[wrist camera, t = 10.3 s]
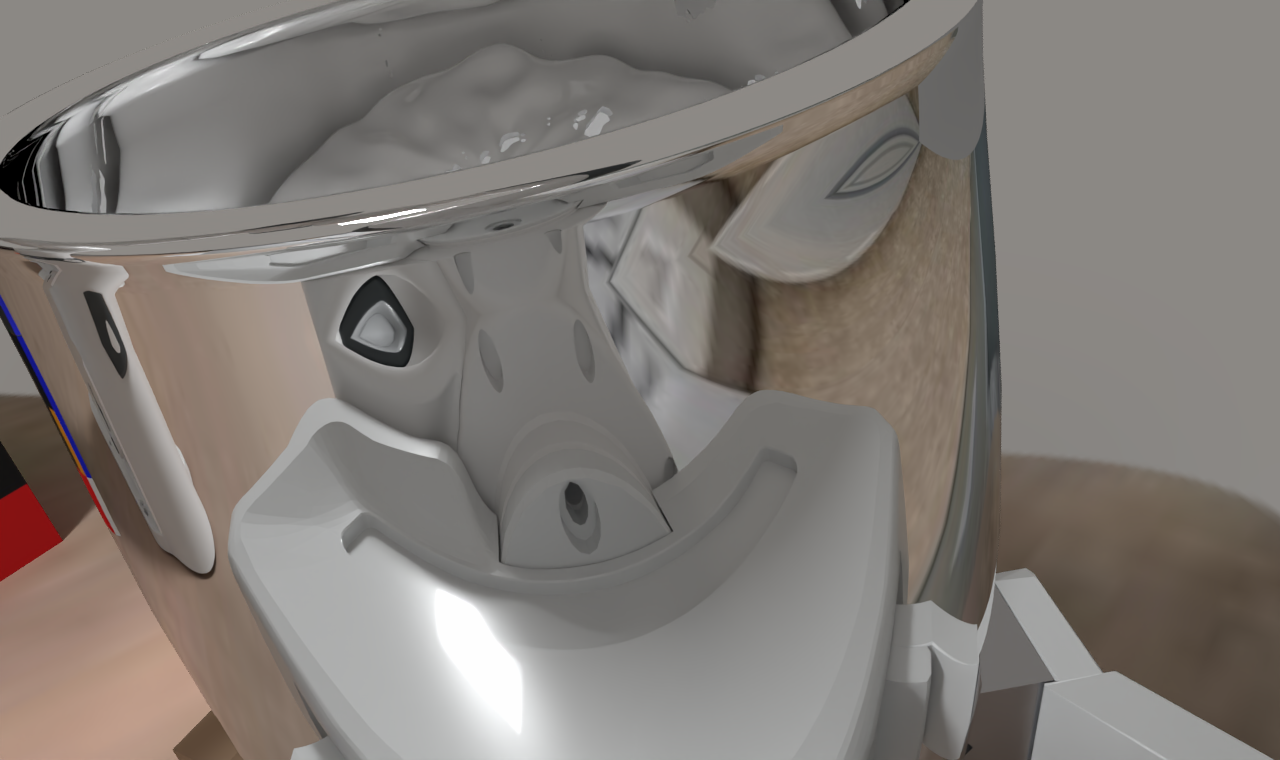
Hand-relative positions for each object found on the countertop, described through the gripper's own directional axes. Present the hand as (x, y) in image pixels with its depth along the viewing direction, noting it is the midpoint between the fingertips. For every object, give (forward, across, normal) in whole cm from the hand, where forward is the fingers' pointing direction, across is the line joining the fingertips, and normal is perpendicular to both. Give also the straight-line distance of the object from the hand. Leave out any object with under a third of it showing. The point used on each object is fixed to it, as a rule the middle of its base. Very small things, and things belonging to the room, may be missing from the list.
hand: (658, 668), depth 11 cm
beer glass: (-1, 0, +7) cm, 7 cm away
